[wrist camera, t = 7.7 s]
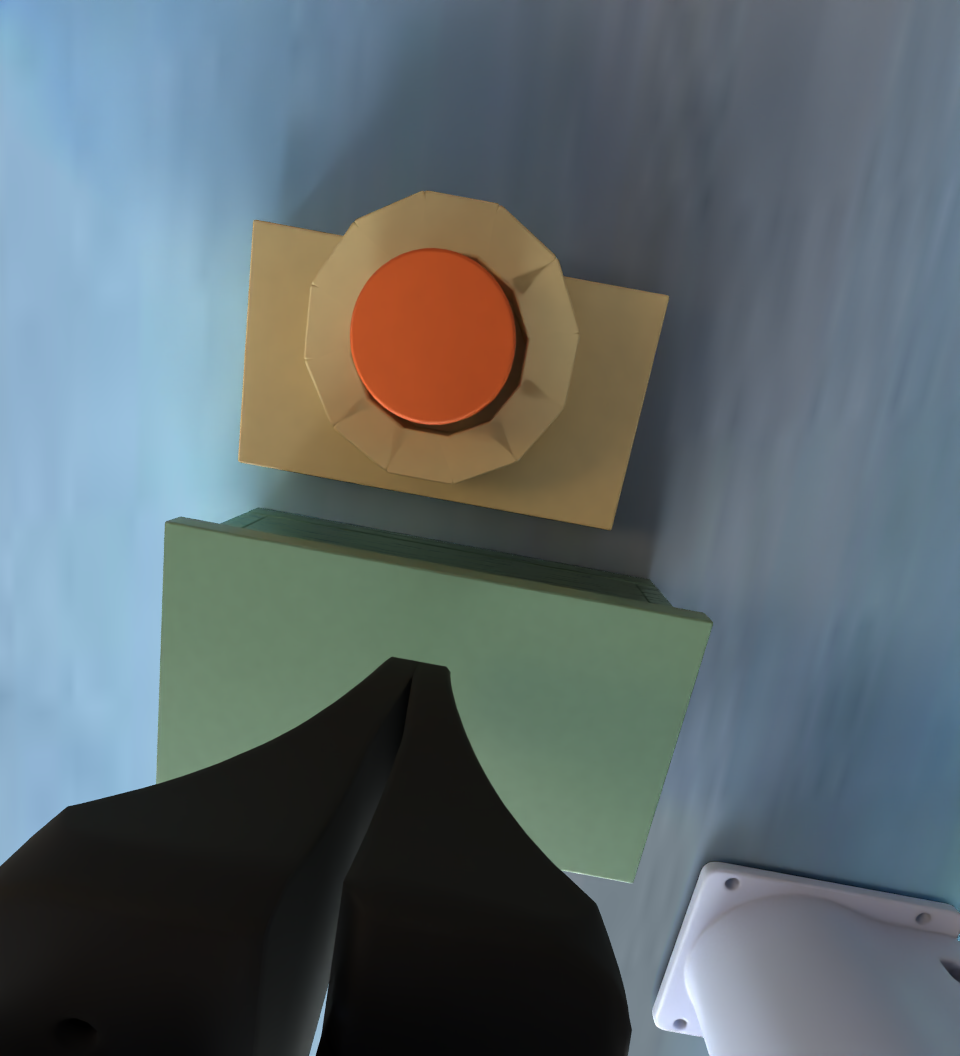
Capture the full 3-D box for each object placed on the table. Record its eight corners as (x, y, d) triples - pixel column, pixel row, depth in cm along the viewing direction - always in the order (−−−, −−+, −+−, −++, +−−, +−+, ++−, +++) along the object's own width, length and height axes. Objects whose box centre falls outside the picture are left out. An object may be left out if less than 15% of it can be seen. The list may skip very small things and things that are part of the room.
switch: (527, 283, 12) (531, 263, 10) (499, 434, 13) (499, 438, 11) (379, 256, 12) (359, 232, 10) (361, 408, 13) (339, 409, 11)
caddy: (257, 506, 16) (179, 539, 12) (650, 579, 16) (697, 634, 12) (243, 696, 18) (170, 778, 14) (600, 762, 18) (627, 863, 14)
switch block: (662, 273, 14) (703, 239, 11) (602, 520, 16) (624, 546, 13) (278, 203, 14) (220, 151, 11) (259, 457, 16) (205, 469, 13)
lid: (179, 515, 12) (163, 521, 12) (704, 612, 12) (714, 622, 12) (169, 780, 14) (154, 796, 13) (627, 864, 14) (633, 884, 13)
